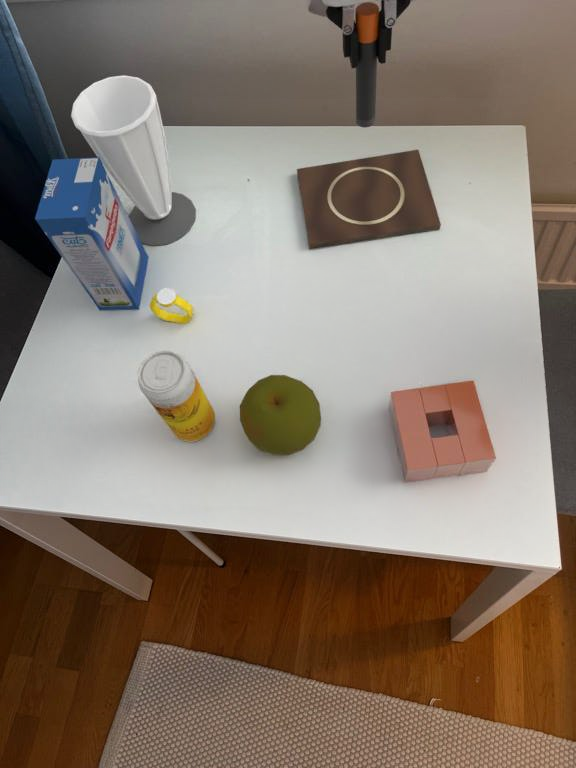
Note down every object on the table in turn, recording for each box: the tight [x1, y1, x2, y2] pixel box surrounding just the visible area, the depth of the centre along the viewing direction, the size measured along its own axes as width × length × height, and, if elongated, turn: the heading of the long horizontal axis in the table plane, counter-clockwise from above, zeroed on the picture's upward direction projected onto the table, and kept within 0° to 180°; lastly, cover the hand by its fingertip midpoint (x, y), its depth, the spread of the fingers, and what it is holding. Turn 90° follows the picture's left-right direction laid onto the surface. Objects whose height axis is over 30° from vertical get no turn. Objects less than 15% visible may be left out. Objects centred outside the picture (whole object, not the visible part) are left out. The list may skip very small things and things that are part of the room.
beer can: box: [137, 350, 216, 443], centre depth 71 cm, size 6×6×15 cm
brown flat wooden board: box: [296, 149, 442, 250], centre depth 91 cm, size 20×16×1 cm
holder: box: [388, 379, 497, 484], centre depth 71 cm, size 10×10×5 cm
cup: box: [70, 75, 197, 247], centre depth 85 cm, size 12×12×22 cm
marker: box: [354, 1, 380, 128], centre depth 68 cm, size 2×2×14 cm
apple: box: [238, 374, 322, 456], centre depth 71 cm, size 10×10×11 cm
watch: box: [149, 287, 194, 325], centre depth 83 cm, size 6×3×6 cm, turn 78°
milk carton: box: [34, 156, 149, 311], centre depth 81 cm, size 10×6×20 cm, turn 178°
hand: (366, 57), depth 66 cm, fingers closed on marker, 2 cm apart
